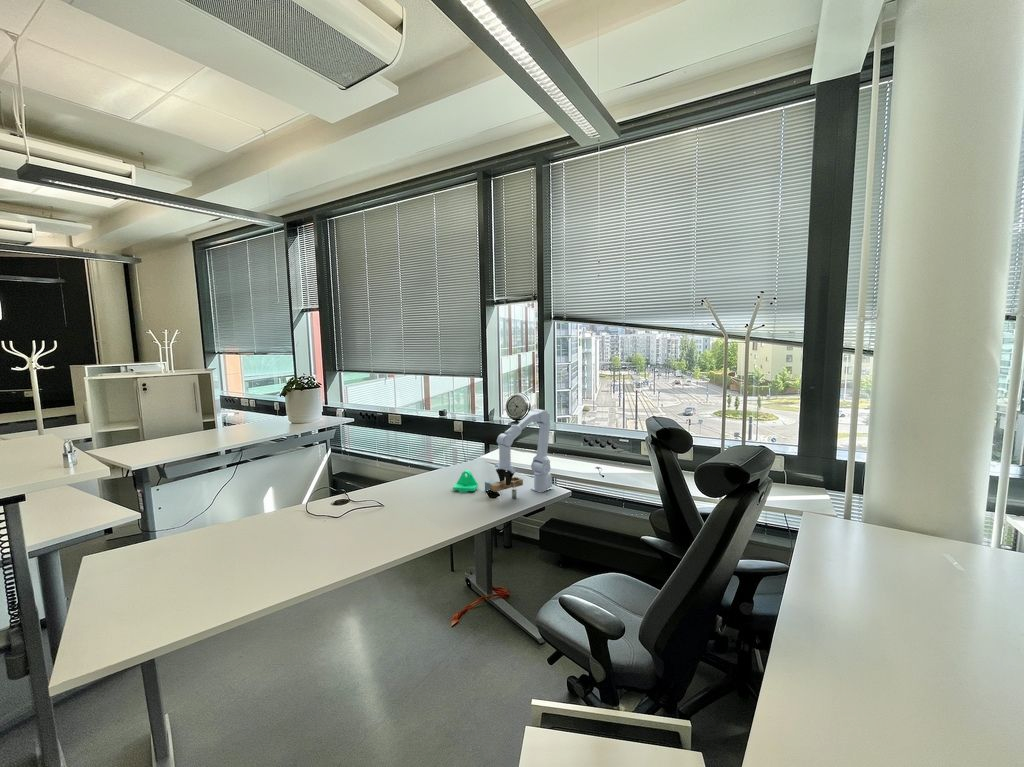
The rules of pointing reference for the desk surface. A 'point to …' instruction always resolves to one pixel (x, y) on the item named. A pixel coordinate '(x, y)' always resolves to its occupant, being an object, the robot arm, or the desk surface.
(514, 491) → the pintle
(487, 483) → the keeper
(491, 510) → the desk surface
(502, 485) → the lever
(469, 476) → the green triangular piece
